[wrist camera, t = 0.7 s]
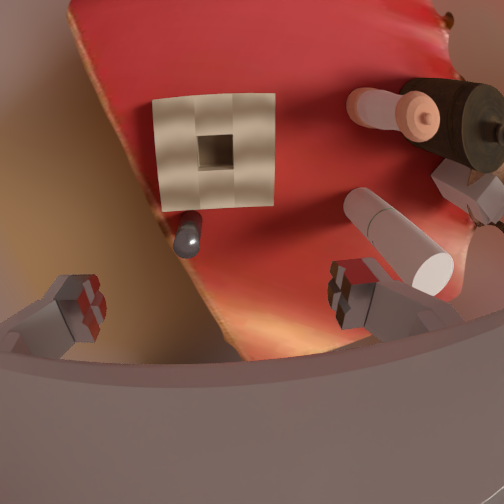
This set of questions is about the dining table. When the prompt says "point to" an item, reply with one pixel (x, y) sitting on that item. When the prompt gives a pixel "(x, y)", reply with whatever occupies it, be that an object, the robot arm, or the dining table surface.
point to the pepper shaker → (395, 112)
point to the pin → (188, 235)
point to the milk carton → (470, 191)
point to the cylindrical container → (399, 241)
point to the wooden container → (464, 122)
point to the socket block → (215, 150)
